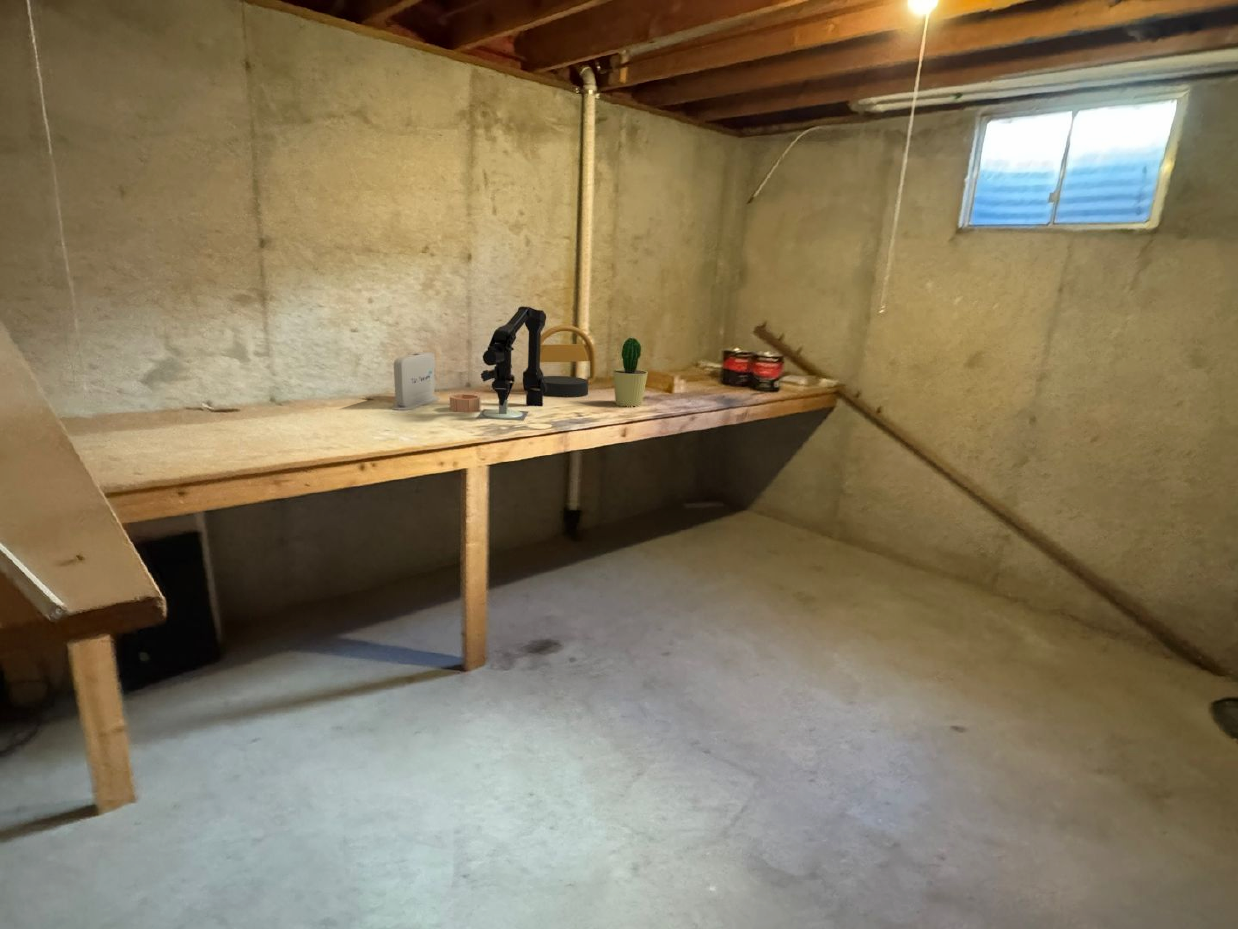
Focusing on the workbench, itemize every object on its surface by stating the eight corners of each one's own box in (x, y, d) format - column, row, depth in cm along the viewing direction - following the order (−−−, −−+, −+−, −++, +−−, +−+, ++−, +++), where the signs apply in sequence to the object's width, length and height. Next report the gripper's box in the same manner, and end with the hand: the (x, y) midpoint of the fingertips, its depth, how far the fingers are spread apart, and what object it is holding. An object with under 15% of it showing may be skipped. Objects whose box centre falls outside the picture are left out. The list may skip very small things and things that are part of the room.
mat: (528, 412, 276) (528, 411, 276) (523, 421, 259) (523, 420, 258) (483, 410, 275) (483, 408, 275) (475, 419, 258) (475, 418, 258)
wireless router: (408, 411, 266) (406, 359, 260) (384, 409, 267) (382, 357, 262) (444, 398, 295) (443, 351, 290) (422, 396, 297) (421, 349, 292)
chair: (606, 395, 323) (610, 327, 315) (539, 399, 305) (541, 327, 297) (581, 387, 344) (584, 322, 335) (516, 389, 325) (517, 322, 317)
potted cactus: (627, 409, 294) (631, 338, 286) (604, 403, 305) (607, 334, 297) (653, 406, 304) (657, 337, 296) (629, 400, 315) (633, 334, 307)
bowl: (482, 408, 279) (482, 394, 277) (477, 413, 268) (477, 399, 266) (454, 406, 279) (454, 393, 277) (447, 412, 268) (447, 398, 266)
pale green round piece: (524, 411, 274) (524, 398, 273) (520, 419, 260) (520, 405, 258) (487, 409, 274) (487, 396, 272) (480, 417, 259) (480, 402, 258)
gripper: (486, 358, 270) (486, 397, 275) (478, 365, 252) (478, 406, 257) (514, 360, 271) (514, 399, 275) (508, 366, 253) (507, 408, 257)
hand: (503, 403), depth 266 cm, fingers open, 9 cm apart
